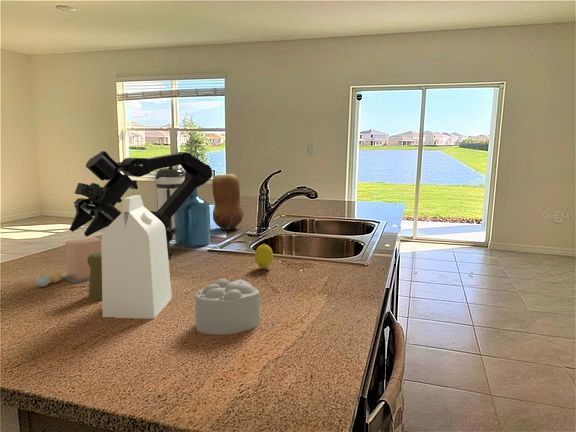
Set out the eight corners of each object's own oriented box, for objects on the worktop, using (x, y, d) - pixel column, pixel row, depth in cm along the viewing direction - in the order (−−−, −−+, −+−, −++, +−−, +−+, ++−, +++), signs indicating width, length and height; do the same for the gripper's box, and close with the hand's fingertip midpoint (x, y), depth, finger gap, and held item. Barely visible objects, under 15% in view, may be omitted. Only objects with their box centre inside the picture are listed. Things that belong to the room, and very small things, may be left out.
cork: (88, 301, 97) (85, 257, 95) (88, 293, 102) (84, 251, 100) (116, 297, 99) (112, 254, 98) (114, 289, 105) (111, 249, 103)
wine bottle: (216, 245, 152) (214, 165, 147) (182, 250, 145) (178, 166, 139) (202, 238, 163) (199, 164, 158) (170, 242, 156) (166, 164, 151)
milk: (126, 297, 100) (118, 193, 95) (171, 298, 99) (166, 193, 95) (102, 317, 88) (93, 200, 83) (154, 318, 88) (147, 200, 83)
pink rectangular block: (96, 269, 121) (93, 236, 119) (105, 273, 117) (103, 239, 116) (68, 275, 115) (65, 241, 113) (77, 279, 111) (74, 244, 110)
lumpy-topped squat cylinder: (264, 326, 84) (264, 287, 83) (203, 340, 78) (202, 298, 77) (245, 308, 93) (245, 273, 92) (190, 320, 87) (188, 281, 86)
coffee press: (188, 234, 171) (185, 163, 165) (150, 233, 171) (146, 162, 166) (197, 225, 188) (195, 161, 182) (163, 225, 188) (160, 161, 183)
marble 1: (52, 284, 108) (51, 274, 108) (44, 288, 105) (43, 277, 105) (42, 284, 109) (41, 273, 108) (34, 287, 106) (33, 277, 105)
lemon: (276, 267, 124) (276, 242, 123) (267, 272, 119) (267, 246, 118) (260, 265, 127) (260, 240, 125) (251, 270, 122) (251, 244, 120)
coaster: (98, 267, 123) (98, 266, 123) (113, 273, 118) (113, 272, 118) (60, 276, 115) (60, 275, 115) (74, 283, 109) (74, 282, 109)
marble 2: (64, 280, 112) (63, 270, 111) (56, 284, 109) (55, 273, 108) (54, 280, 112) (53, 269, 111) (46, 283, 109) (45, 273, 109)
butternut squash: (218, 225, 188) (217, 172, 184) (246, 226, 186) (245, 172, 182) (208, 232, 174) (207, 174, 170) (238, 233, 173) (237, 175, 168)
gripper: (78, 171, 120) (41, 211, 113) (108, 174, 108) (69, 219, 102) (106, 195, 127) (72, 234, 121) (137, 200, 116) (102, 244, 109)
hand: (78, 233), depth 113 cm, fingers open, 9 cm apart
